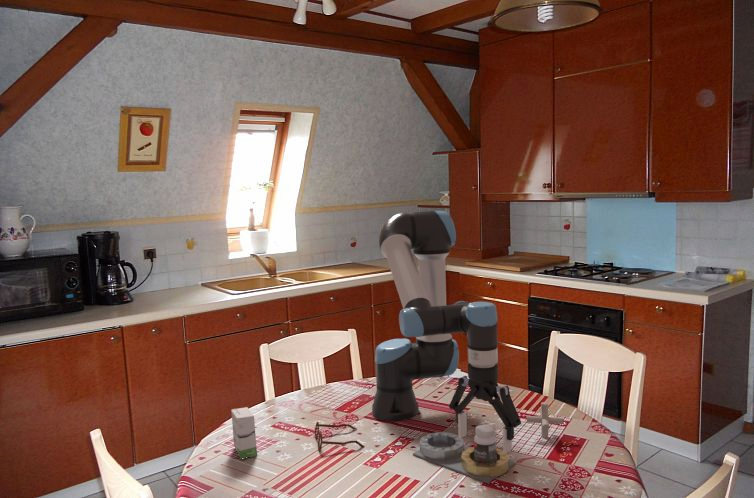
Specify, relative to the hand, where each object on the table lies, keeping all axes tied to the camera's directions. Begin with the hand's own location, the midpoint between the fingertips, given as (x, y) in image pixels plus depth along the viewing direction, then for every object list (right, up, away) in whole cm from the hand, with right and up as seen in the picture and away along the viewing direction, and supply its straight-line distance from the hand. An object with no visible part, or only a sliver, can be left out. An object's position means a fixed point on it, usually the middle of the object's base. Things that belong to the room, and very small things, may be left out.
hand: (484, 443), depth 152 cm
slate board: (-5, -6, +5) cm, 9 cm away
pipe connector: (+20, -4, +17) cm, 27 cm away
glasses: (-39, -6, +20) cm, 44 cm away
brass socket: (0, -6, +1) cm, 6 cm away
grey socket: (-10, -6, +10) cm, 15 cm away
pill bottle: (0, -6, 0) cm, 6 cm away
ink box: (-65, -8, +15) cm, 67 cm away
